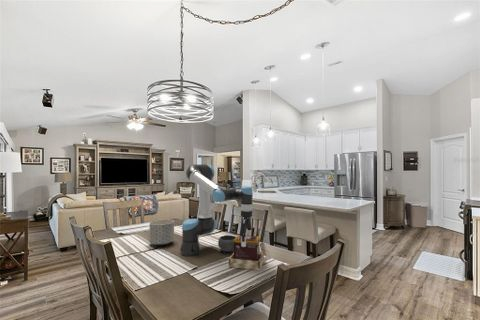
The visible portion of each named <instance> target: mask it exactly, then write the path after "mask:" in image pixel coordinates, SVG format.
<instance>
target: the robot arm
mask: <svg viewBox="0 0 480 320" xmlns="http://www.w3.org/2000/svg"><path fill="white" fill-rule="evenodd" d="M185 175H186V178H187V179H188V181H190V182H191V183H195V184H196V185H197V186H198V199H199V200H198V202H199V203H198V204H199V205H198V206H199V215H197V218H188V219H186V220H185V221H183V222H182V227H181V228H182V229H181V230H182V235H181V236H182V238H181V239H182V241H181V242H182V243H181V245H180V249H179V254H180V255H181V256H185V257H186V256H188V257H189V256H190V257H192V256H196V255H199V254H200V253H202V248H201V244H200V242H199V238H200V236H201V237H202V236H205V235H209V234H212V233H214V231H215V230H216V228H217V222H216V219H215V218H214V217H213V215H212V210H211V209H212V208H211V198H212V200H213V201H214V202H215V203H222V202H228V201H229V202H230V201H240V217H242V218H243V219H241V229H240V234H239V235H240V236H241V246H242V247H246V236H252V234H251V231H252V230H253V228H252V219H251V218H252V217H253V208H254V205H253V193H254V192H253V187H252V186H249V185H245V186H241V187H240V188H236V187H230V188H226V189H223V188H222V187H221V186H219V185H218V184H216V183H215V182H214V181H213V180H212V179H214V177H215V170H214V167H213V166H212V165H211V164H207V163H206V164H203V163H202V164H192V165H189V166H188V167H187V168H186V171H185Z"/></svg>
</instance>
